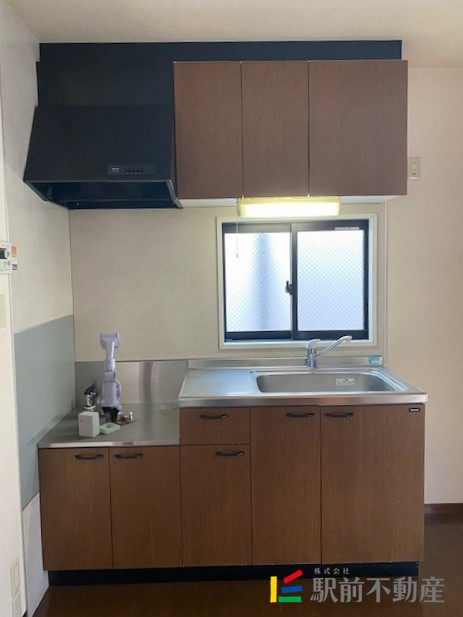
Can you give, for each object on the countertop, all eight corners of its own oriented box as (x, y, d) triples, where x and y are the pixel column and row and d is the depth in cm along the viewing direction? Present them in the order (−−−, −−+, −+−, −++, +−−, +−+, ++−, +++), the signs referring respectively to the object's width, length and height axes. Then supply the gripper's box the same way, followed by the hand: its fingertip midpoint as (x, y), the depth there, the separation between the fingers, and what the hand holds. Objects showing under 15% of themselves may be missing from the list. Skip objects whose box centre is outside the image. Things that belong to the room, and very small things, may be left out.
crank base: (108, 421, 263) (108, 419, 263) (124, 416, 271) (124, 413, 271) (122, 425, 256) (122, 423, 256) (138, 419, 265) (138, 417, 265)
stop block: (105, 424, 257) (105, 412, 257) (111, 422, 260) (111, 410, 260) (110, 425, 255) (110, 414, 254) (117, 423, 258) (116, 412, 257)
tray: (95, 431, 248) (95, 426, 248) (109, 426, 255) (109, 422, 254) (106, 434, 243) (106, 430, 243) (119, 429, 250) (119, 425, 249)
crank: (118, 418, 263) (118, 410, 263) (123, 416, 266) (123, 409, 266) (129, 421, 258) (129, 413, 258) (135, 419, 261) (135, 412, 260)
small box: (100, 433, 245) (99, 412, 244) (93, 437, 239) (92, 415, 238) (85, 432, 247) (84, 410, 246) (78, 435, 242) (77, 414, 241)
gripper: (94, 394, 257) (95, 420, 259) (113, 398, 248) (114, 425, 250) (105, 391, 263) (106, 416, 264) (124, 395, 254) (125, 422, 255)
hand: (111, 421), depth 257 cm, fingers closed on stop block, 4 cm apart
